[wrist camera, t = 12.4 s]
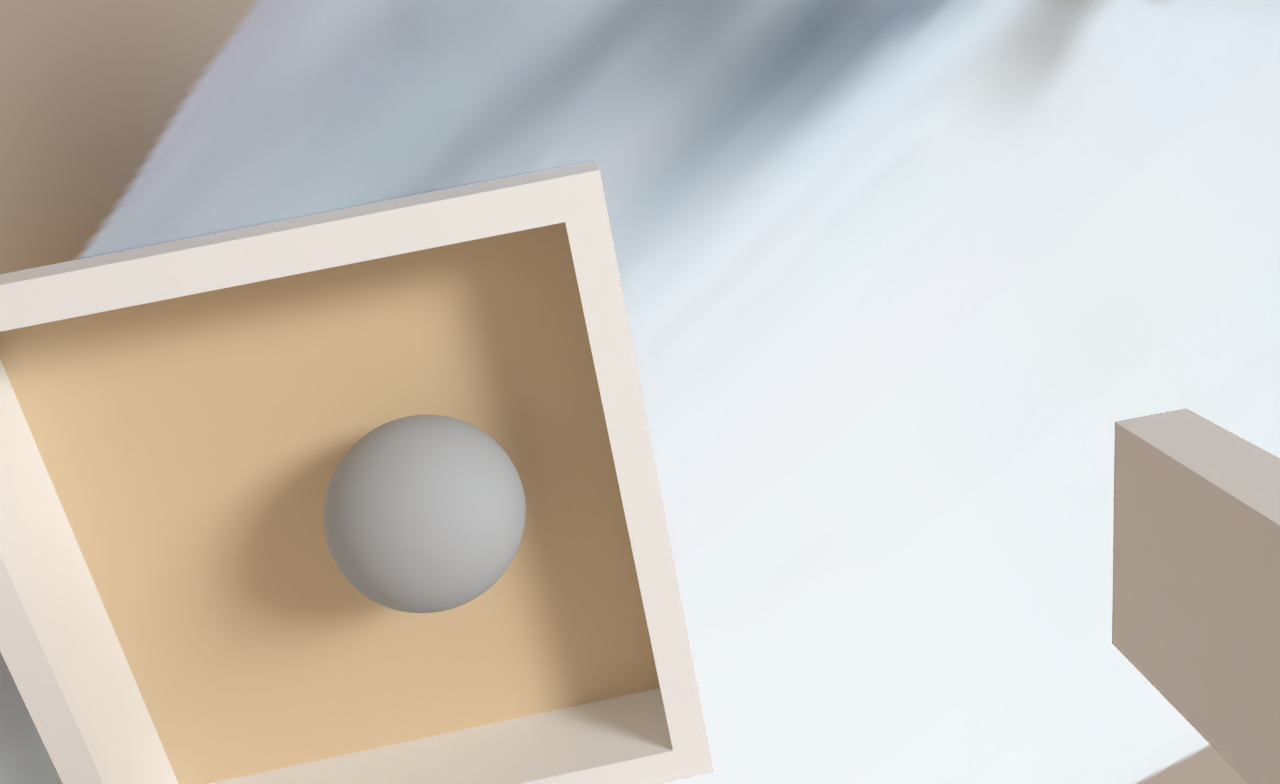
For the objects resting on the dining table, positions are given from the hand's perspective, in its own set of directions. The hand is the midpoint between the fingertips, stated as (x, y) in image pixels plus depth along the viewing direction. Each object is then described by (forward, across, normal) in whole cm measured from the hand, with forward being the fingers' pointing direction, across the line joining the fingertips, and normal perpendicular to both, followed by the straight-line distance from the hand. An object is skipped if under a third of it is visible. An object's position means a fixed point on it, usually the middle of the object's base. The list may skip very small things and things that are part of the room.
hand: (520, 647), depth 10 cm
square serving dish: (+21, -8, -8) cm, 24 cm away
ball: (+19, -7, -8) cm, 21 cm away
